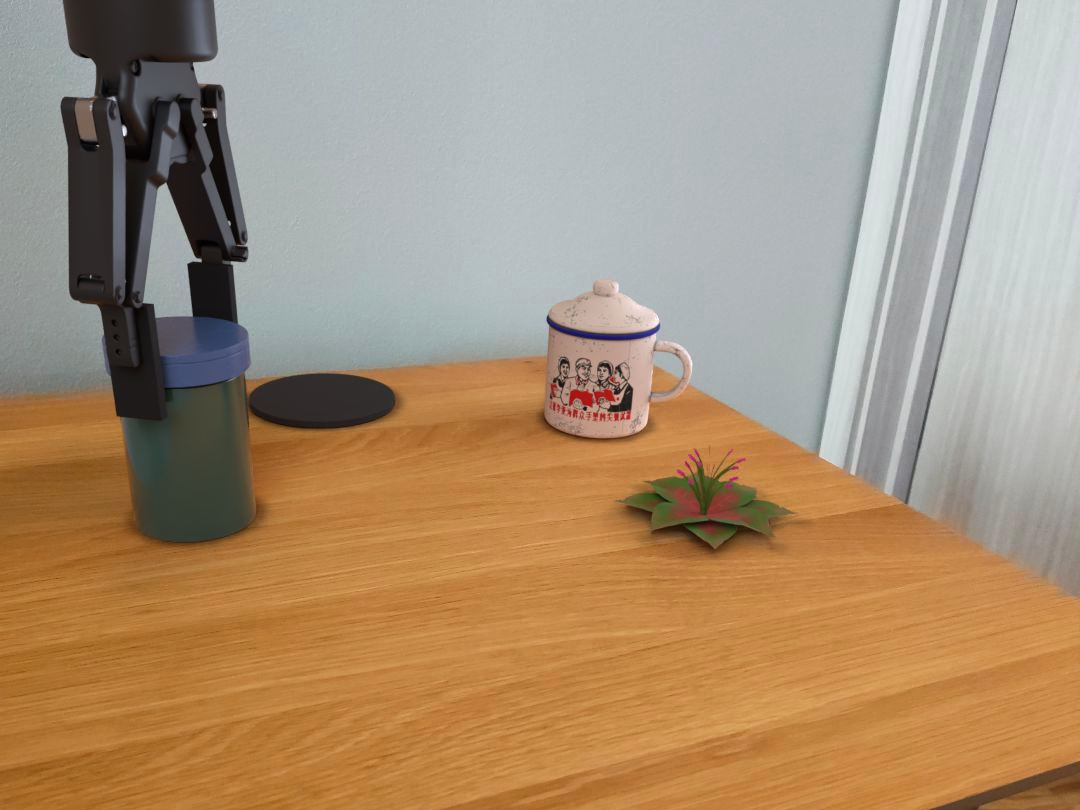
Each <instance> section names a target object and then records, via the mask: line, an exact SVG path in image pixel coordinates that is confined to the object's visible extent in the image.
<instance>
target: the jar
mask: <svg viewBox="0 0 1080 810" xmlns="http://www.w3.org/2000/svg"><path fill="white" fill-rule="evenodd" d="M164 391H165V400H166V408H167V416H168V417H166V418H165V419H164V420H162V421H156V420H146V419H136V418H126V417H119V423H120V431H121V436H122V443H123V451H124V458H125V459H124V460H125V465H126V472H127V473H126V474H127V481H128V487H129V495H130V501H131V509H132V516H133V522H134V526H135V527H136V529H137V530H138V531H139V532H140V533H141V534H143V535H145V536H147V537H149V538H151V539H154V540H159V541H164V542H171V543H197V542H206V541H212V540H217V539H222V538H224V537H228V536H231V535H233V534H236V533H238V532H240V531H242V530H244V529H245V528H247V527H248V526H249V525H250V524H252V522H253V521H254V520H255V518H256V515H257V504H256V503H257V502H256V491H255V477H254V464H253V452H252V442H251V441H252V440H251V429H250V417H249V402H248V394H247V393H248V392H247V379H246V371H245V372H244V373H242V374H240V375H238V376H236V377H234V378H231V379H228V380H225V381H221V382H217V383H213V384H207V385H201V386H192V387H178V388H164Z"/></svg>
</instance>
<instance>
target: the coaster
mask: <svg viewBox="0 0 1080 810" xmlns="http://www.w3.org/2000/svg"><path fill="white" fill-rule="evenodd" d="M395 404H396V395H395V392H394V390H393V389H391V387H390V386H389V385H387V384H385V383H383V382H380V381H379V380H376V379H372V378H369V377H366V376H365V377H364V376H360V375H354V374H347V373H335V372H334V373H331V372H325V373H324V372H319V373H318V372H316V373H304V374H303V373H302V374H296V375H290V376H289V375H288V376H284V377H280V378H276V379H273V380H269V381H267V382H264V383H263V384H261V385H258V386H256V387H255V388H254V389H253V390H252V391H251V392H250V394H249V397H248V406H249V409H250V411H252V413H253V414H254V415H256V416H257V417H259V418H261V419H263V420H265V421H268V422H271V423H274V424H278V425H283V426H287V427H288V426H289V427H296V428H305V429H330V428H331V429H332V428H342V427H349V426H356V425H360V424H366V423H369V422H371V421H374V420H377V419H379V418H381V417H384V416H385V415H387V414H389V413H390V412H391V411H392V410H393V408H394V407H395Z"/></svg>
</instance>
